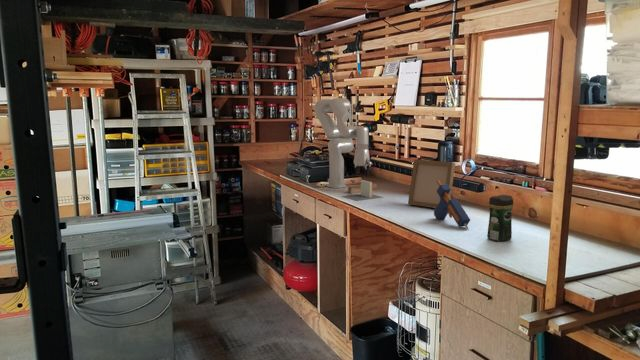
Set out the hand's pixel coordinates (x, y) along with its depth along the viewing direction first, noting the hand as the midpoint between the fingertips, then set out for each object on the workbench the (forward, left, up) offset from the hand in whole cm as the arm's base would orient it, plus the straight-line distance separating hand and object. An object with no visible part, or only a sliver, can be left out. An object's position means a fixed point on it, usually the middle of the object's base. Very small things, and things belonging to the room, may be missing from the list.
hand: (362, 174), depth 303 cm
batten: (-1, +1, -12) cm, 12 cm away
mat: (+12, -9, -11) cm, 19 cm away
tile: (+12, -6, -11) cm, 17 cm away
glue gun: (+82, -9, -12) cm, 84 cm away
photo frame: (+50, +10, -12) cm, 53 cm away
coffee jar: (+111, -12, -12) cm, 112 cm away
